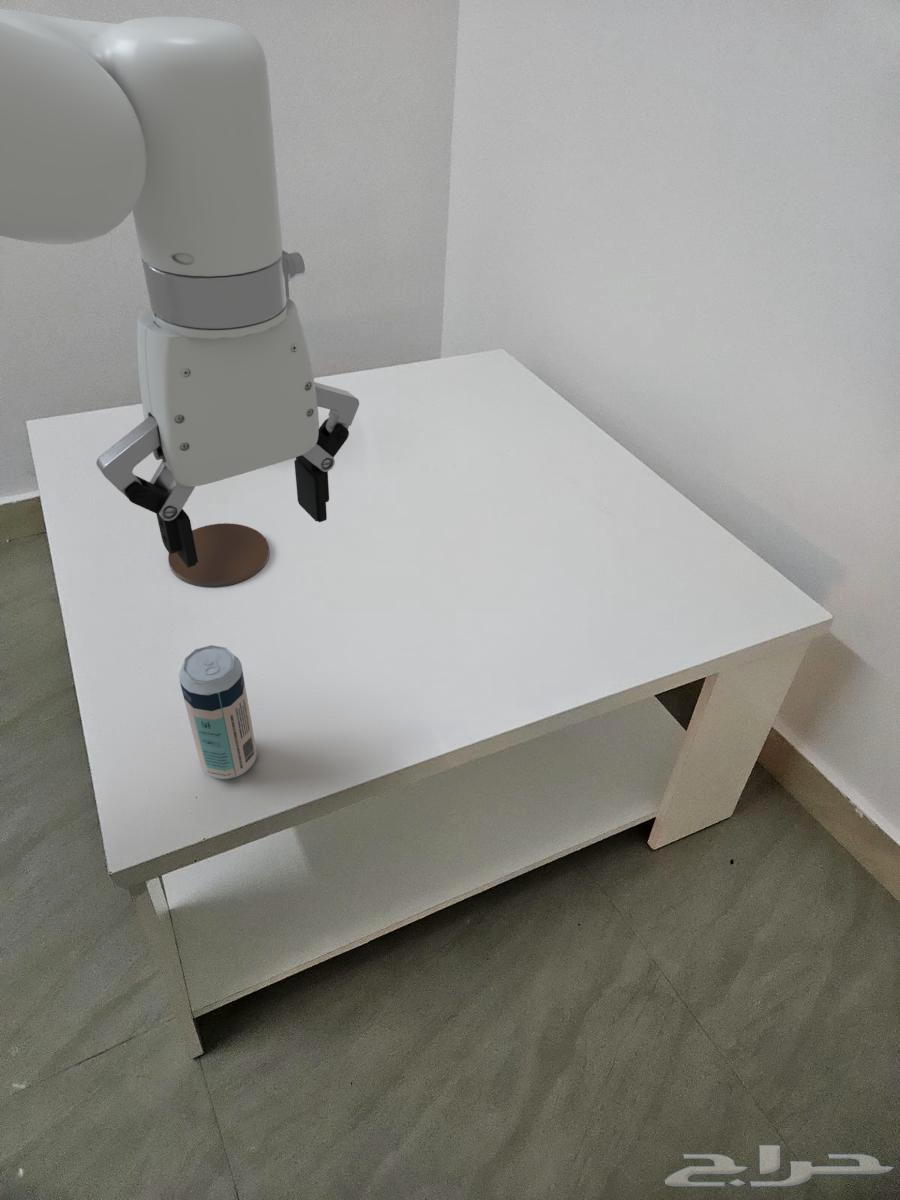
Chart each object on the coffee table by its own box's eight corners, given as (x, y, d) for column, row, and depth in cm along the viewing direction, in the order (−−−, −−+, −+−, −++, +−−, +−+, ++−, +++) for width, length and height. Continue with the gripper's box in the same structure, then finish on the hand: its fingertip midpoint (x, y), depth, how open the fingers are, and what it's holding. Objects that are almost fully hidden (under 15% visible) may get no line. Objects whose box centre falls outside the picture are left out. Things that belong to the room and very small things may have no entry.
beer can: (249, 731, 73) (232, 635, 66) (263, 771, 70) (247, 674, 62) (195, 748, 72) (171, 651, 64) (207, 790, 69) (183, 692, 61)
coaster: (176, 596, 87) (175, 591, 86) (163, 537, 94) (162, 532, 94) (278, 575, 90) (278, 571, 90) (258, 520, 98) (258, 516, 97)
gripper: (321, 245, 52) (332, 474, 63) (38, 292, 44) (108, 545, 55) (383, 283, 48) (384, 522, 59) (82, 343, 40) (149, 607, 51)
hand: (251, 533), depth 57 cm, fingers open, 9 cm apart
